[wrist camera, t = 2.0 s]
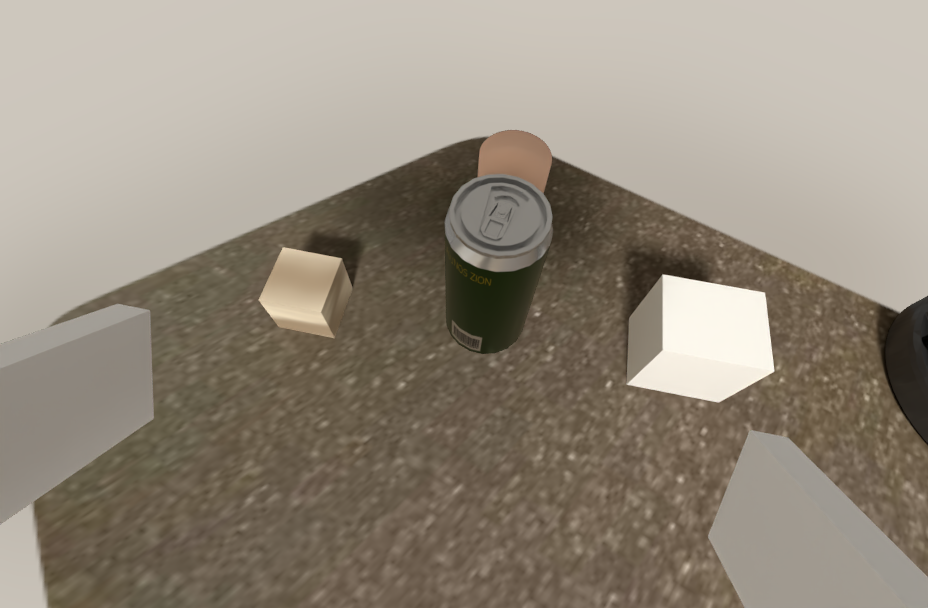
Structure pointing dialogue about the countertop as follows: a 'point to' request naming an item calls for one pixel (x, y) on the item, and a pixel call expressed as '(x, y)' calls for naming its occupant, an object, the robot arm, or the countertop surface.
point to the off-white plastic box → (699, 339)
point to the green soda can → (494, 259)
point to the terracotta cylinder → (516, 157)
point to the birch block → (307, 292)
